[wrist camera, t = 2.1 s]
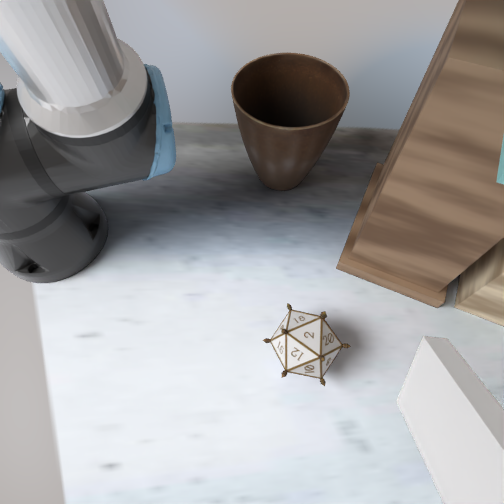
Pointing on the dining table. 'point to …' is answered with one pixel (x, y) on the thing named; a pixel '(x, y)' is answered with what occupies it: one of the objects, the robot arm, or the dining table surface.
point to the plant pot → (287, 114)
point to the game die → (305, 344)
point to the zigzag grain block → (484, 286)
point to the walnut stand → (439, 168)
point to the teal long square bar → (501, 166)
